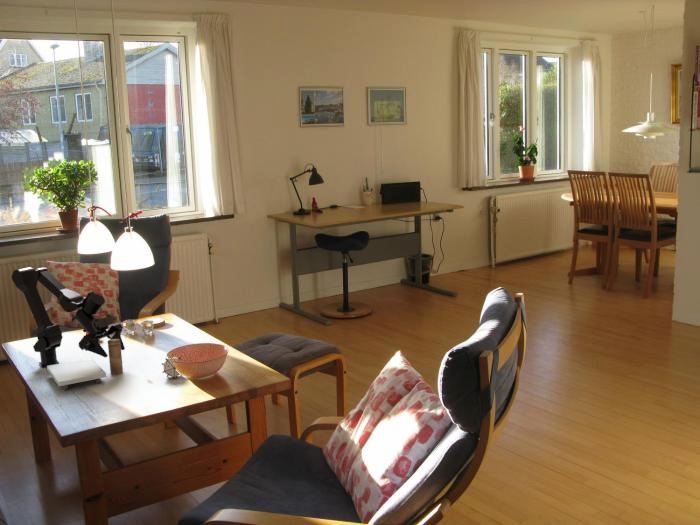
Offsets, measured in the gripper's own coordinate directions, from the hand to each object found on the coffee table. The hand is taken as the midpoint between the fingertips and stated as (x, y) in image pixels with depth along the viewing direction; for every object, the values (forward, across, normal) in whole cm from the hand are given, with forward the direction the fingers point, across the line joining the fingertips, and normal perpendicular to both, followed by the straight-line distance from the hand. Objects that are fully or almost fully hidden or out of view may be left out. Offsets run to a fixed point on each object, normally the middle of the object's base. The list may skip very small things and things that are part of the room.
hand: (115, 353), depth 263 cm
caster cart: (-1, -11, +12) cm, 16 cm away
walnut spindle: (+5, 0, +6) cm, 8 cm away
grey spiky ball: (+22, +3, -11) cm, 25 cm away
